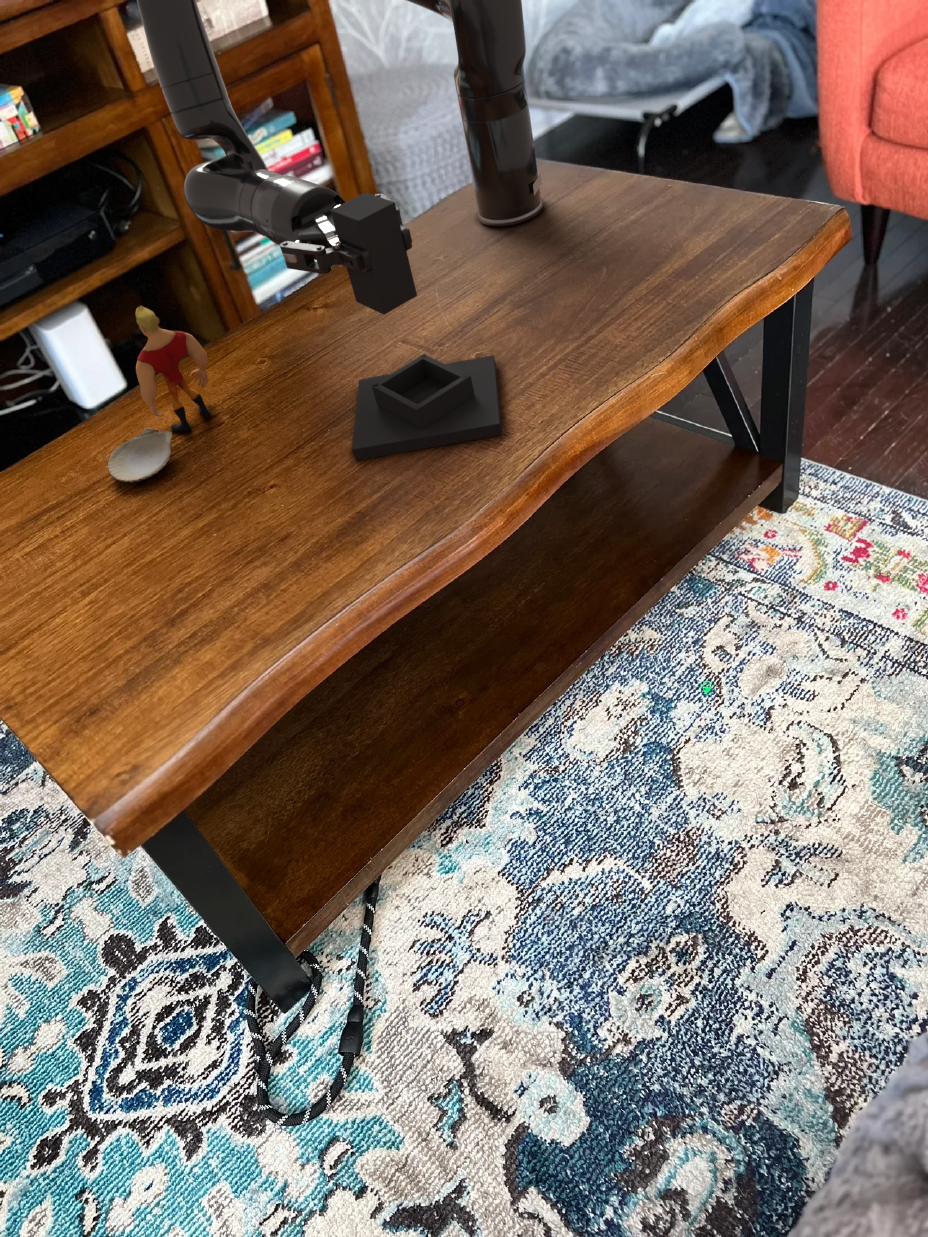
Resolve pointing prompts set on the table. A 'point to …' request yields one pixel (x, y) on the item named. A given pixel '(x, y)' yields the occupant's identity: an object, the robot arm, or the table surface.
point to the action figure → (169, 365)
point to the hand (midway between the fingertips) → (387, 250)
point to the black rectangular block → (376, 251)
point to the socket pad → (440, 432)
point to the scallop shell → (141, 456)
